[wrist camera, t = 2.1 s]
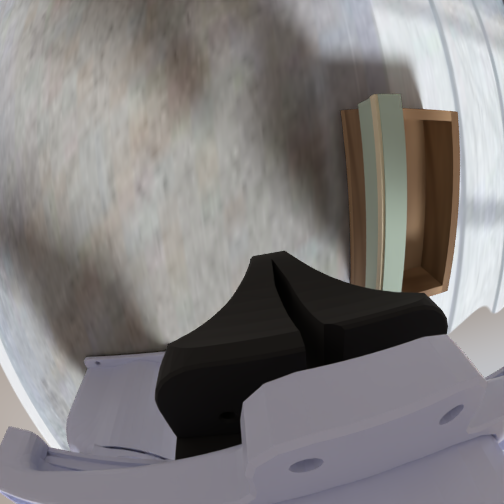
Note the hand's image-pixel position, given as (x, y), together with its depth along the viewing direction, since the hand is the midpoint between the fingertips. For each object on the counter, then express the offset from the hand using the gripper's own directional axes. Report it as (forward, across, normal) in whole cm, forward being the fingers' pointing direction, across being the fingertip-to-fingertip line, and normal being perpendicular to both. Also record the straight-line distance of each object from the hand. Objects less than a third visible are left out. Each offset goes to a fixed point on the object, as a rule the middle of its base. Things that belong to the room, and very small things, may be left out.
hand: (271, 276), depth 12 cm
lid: (0, -5, 0) cm, 5 cm away
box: (+7, -9, 0) cm, 12 cm away
